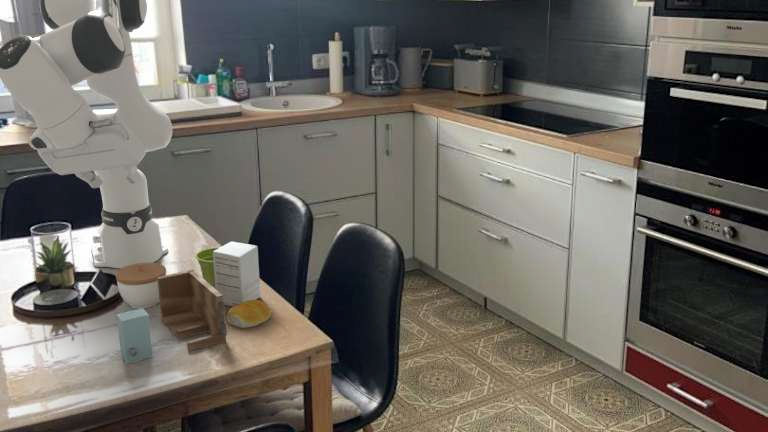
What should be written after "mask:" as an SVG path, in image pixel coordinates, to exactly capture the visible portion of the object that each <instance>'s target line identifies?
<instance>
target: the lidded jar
mask: <svg viewBox="0 0 768 432" xmlns="http://www.w3.org/2000/svg"><path fill="white" fill-rule="evenodd" d="M165 275H167V268H166V266H164V265H163V264H161V263H157V262H156V263H155V262H153V263H138V264H133V265H129V266H126V267H123V268H119V270H117V272H116V273H115V278H116V284H117V289H118V292H119V295H120V297H121V298H122V300H123V301H124V302H125V303H127V304H128V305H130V307H131V308H133V309H135V310H137V309H141V308H143V309H144V310H145V309H149V308H153V307H155V306H157V305H158V304H159V303H160V300H159V290H158V281H157V277H161V276H165Z"/></svg>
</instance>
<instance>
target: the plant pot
mask: <svg viewBox="0 0 768 432" xmlns="http://www.w3.org/2000/svg"><path fill="white" fill-rule="evenodd" d="M218 248H220V246H219V247H209V248H205V249H202V250H200V251H198V252H197V253H196V254H195V259H196V260H197V261H198V264H199V267H200V270H201V275H202V276H201V277H202V278H203V279H204V280H205V281H207V282H208V283H209V284H210V285H211V286H212V287H214V288H215V277H214V262H213V251H215V250H217V249H218Z"/></svg>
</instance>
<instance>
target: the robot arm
mask: <svg viewBox="0 0 768 432" xmlns="http://www.w3.org/2000/svg"><path fill="white" fill-rule="evenodd" d="M39 10H40V14H41V15H42V16H41V17H42V20H43V22H44V23H45V24H46V26H47V27H49V28H50V29H51V31H47V32H46V33H44V34H41V35H39V36H36V37H33V38H32V37H31V36H28V35H18V36H15V37H13V38H11V39H9V40H8V41H6V42H5V43H3V45H2V46H0V80H1V82H2V83H3V85H4V86H5V88H6V89H7V90H8V92H9V93H10V94H11V96H12V98H13V99H14V100H15V101H16V102H17V103H18V105H19V106H20V107H21V108H22V109H24V111H26V112H28V113H29V115H31V117H32V118H33V120H34V122H35V125H36V126H37V128H36V129H35V130H34V131H33V133H32V134H31V136H30V137H29V138H28V139H27V143H28V145H29V146H30V147H31V148H32V149H33V150H36V151H37V154H38V156H39V157H40V159H42V161H43V162H44V163H45V165H47V166H48V167H49V169H50V170H52V171H53V172H54V173H55V174H58V175H60V176H65V175H72V174H74V175H75V176H76V177H77V178H79V179H80V180H83V182H86V183H87V184H88V185H89V186H90V188H92V189H97V188H98V189H100V195H101V200H102V208H101V221H102V223H101V225H100V226H99V228H98V233H97V234H92V240H93V244H92V245H91V254H92V258H93V265H94V267H96V268H97V267H98V268H105V267H106V268H114V269H121V268H123V267H126V266H129V265H133V264H138V263H155V262H157V261H158V260H159V259H161V257H162V256H163V255H166V254H167V253H168V252H169V250H168V247H167V246H166V245H165V246H164V245H163V243H162V237H161V232H160V226H159V223H158V222H156V221H155V220H153V211H152V210H153V209H152V204H151V203H150V201H149V191H148V182H147V181H148V180H147V177H146V175H145V173H143V172H142V171H141V170H140V169H139V168H138V165H139V164H140V163H141V161H142V160H143V158H144V157H145V156H146V153H148V152H154V151H157V150H160V149H161V150H162V149H165V148H166V147H167V146H168V145H169V144H170V141H171V139H172V136H173V125H172V121H171V119H170V118H169V116H168V115H167V113H166V112H165V111H163V110H162V109H160V108H159V107H157V106H156V105H154V104H153V103H152V102H151V101H150V100H149V99H148V98H147V96H145V94H144V92H143V91H142V89H141V87H140V85H139V83H138V78H137V74H136V68H135V63H134V55H133V54H134V53H133V49H132V47H133V46H132V41H131V36H130V33H132V32H133V31H135V30H137V29H140V28H141V26H142V25H143V24H145V20H146V17H147V12H148V4H147V0H39ZM84 81H86V83H87V86H88V87H89V90H91V91H92V92H93V93H95V94H96V95H98V96H100V97H101V98H102V97H103V98H104V99H108V100H110V101H111V102H112V103H113V104H115V106H116V107H117V108H110V109H109V108H107V109H92V107H91V106H90V105H89V104H88V102H87V101H86V100H85V98H84V97H83V96H82V95H81V94H80V93H79V92H77V91H76V90H75V89H74V88H73V87H72V86H74V85H76V84H79V83H82V82H84ZM93 172H94V173H93Z"/></svg>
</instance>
